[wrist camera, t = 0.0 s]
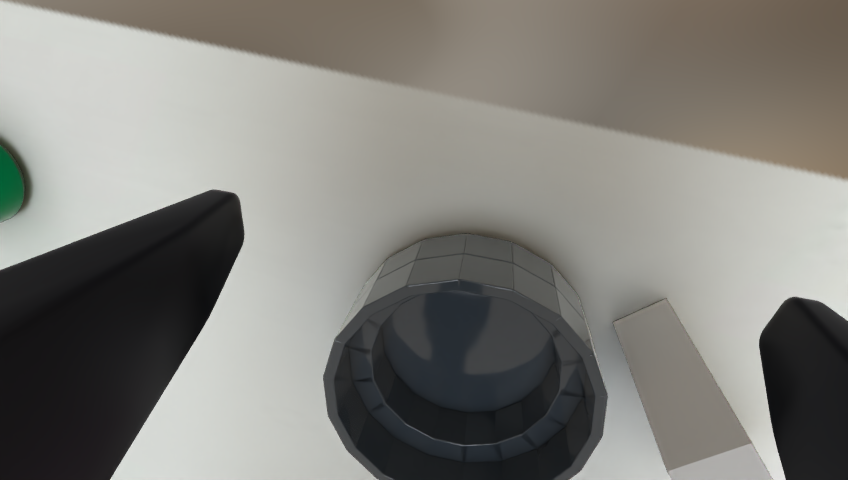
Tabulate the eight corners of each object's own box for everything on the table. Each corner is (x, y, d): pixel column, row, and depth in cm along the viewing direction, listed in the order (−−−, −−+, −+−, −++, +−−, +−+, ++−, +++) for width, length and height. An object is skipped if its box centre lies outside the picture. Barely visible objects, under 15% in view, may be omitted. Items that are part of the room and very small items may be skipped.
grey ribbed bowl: (456, 459, 31) (446, 544, 26) (311, 315, 28) (269, 378, 23) (636, 358, 26) (666, 436, 21) (483, 179, 24) (477, 220, 19)
